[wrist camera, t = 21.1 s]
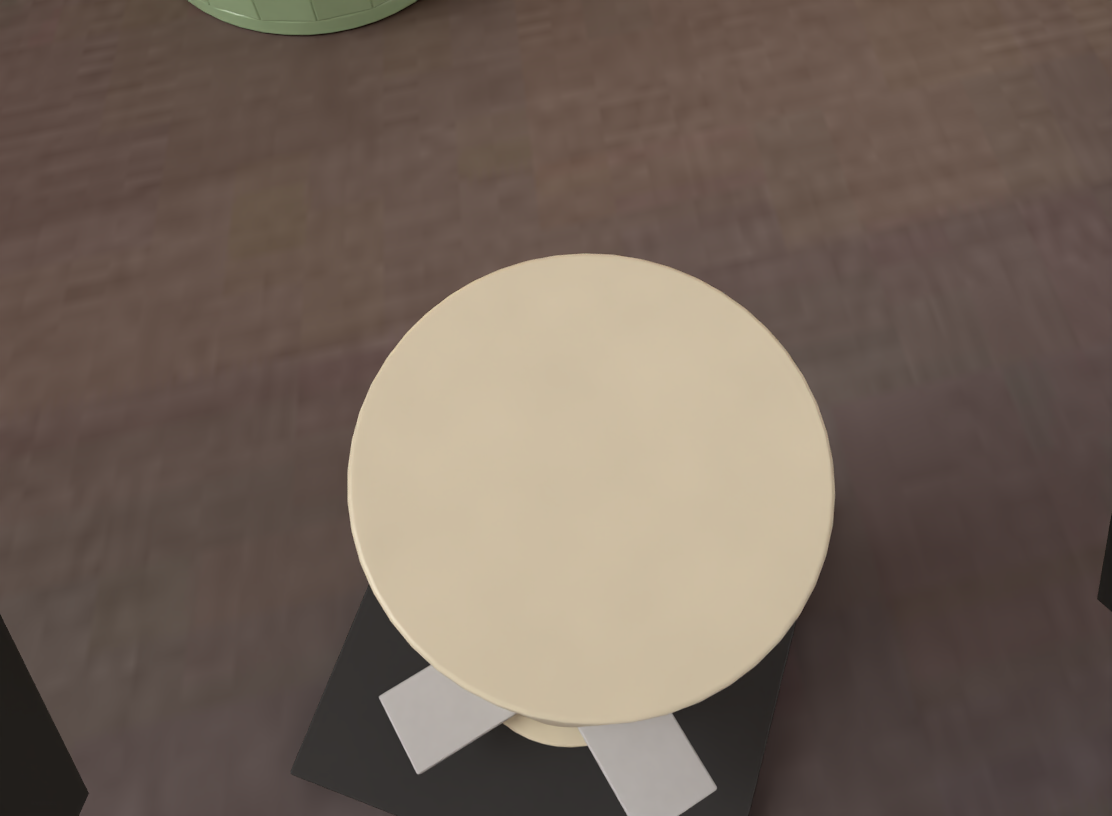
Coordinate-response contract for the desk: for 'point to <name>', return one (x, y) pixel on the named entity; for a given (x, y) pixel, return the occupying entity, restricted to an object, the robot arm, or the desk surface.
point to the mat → (510, 743)
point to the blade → (587, 512)
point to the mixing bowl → (300, 14)
